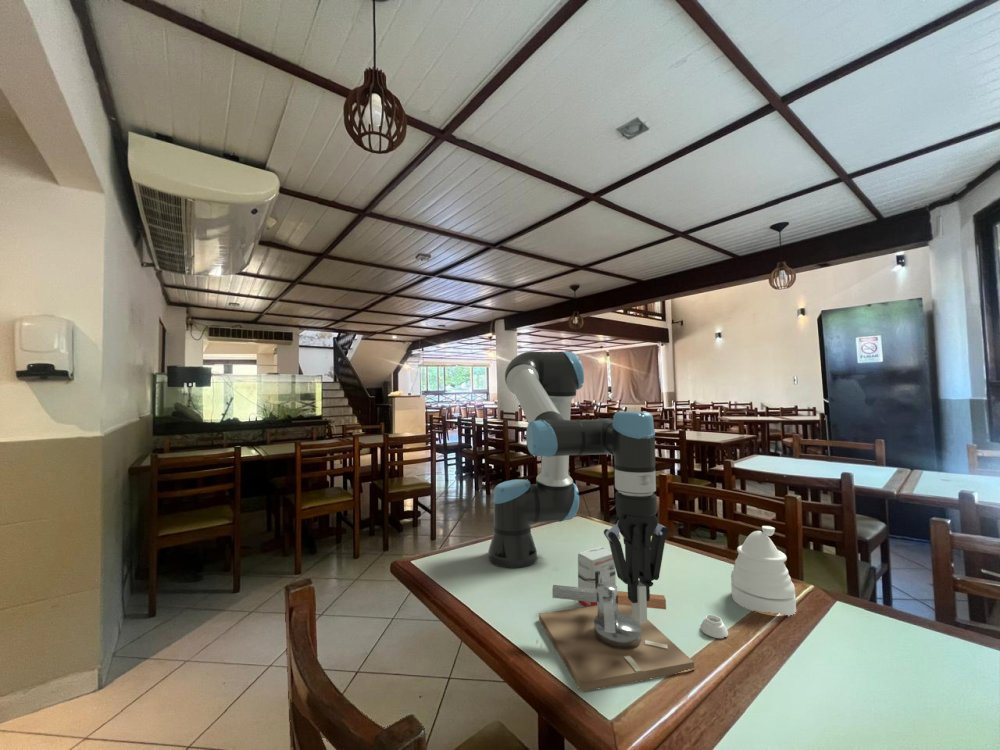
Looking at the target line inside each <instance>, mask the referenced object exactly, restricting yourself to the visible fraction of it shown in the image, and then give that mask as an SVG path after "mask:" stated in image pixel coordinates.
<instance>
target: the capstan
mask: <svg viewBox="0 0 1000 750" xmlns="http://www.w3.org/2000/svg"><path fill="white" fill-rule="evenodd" d="M601 581H602V582H600V583H598V584H597V589H592V588H581V587H578V586H572V585H571V586H569V585H568V586H567V585H559V584H553V585H552V590H551V591H552V598H553V599H560V600H570V601H578V600H579V601H588V602H597V611H598V615H597V616H596V617H595V619H594V631H595V635H596V637H597V638H598V639H599V640H600V641H601V642H603V643H605V644H607V645H609V646H612V647H616V648H632V647H635V646H637V645H638V644H639V643H640V642H641V626H640V624H639V622H638V621H637V620H636V619H634V618H633V617H631V616H629V615H626V614H623V613H619V612H618V605H627V606H632V602H631V601H630V600H629V599H628V591H623V590H622V591H621V590H618V586H617V584H616V585H615V584H613V583H611V582H610V573H609V570H608V569H601ZM647 608H650V609H657V610H658V609H659V610H667V601H666V597H665V595H663V594H653V593H650V599H649V601H647Z"/></svg>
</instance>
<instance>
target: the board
mask: <svg viewBox="0 0 1000 750" xmlns="http://www.w3.org/2000/svg"><path fill="white" fill-rule="evenodd" d="M618 612H619V613H623V614H626V615H629V616H631V617H633V616H632V606H627V605H618ZM597 615H598V611H597V606H590V607H585V606H583V607H578V608H569V609H563V610H562V609H561V610H556V611H554V610H553V611H547V612H540V613H538V620H539V621H538V622H539V623H540V625H541V626H542V628H543V629H544V631H545V633H546V635H547V637H548V638H549V639H550V641H551V644H552V645H553V647H554V649H555V650H556V652H557V653H558V655H559V657H560V659H561V661H562V662H563V664H564V665H565V667H566V668H567V671H568V672H569V675H571V678H572V679H573V681H574V683H575V685H576V686H577V688H578V687H579V688H578V689H580V690H579V691H580V693H583V692H582V691H584V692H588V691H587V690H590V691H594V690H593V689H595V690H599V689H598V688H600V689H604V688H603V687H606V688H611V687H615V686H621V685H627V684H630V683H636V681H637V682H641V680H643V681H646V680H647V679H648V680H651V679H650V678H653V679H656V678H657V677H659V678H662V676H663V677H667V675H669V676H672V675H671V674H675V673H678V672H681V671H684V670H688V669H692V668H694V669H695V662H694V660H692V659H691V658H690V657H689V656H688V655H687V653H685V652H684V651H683V650H681V648H680V647H679V646H677V645H676V644H675V643H674V642H673V641H672V640H671V639H670V638H669V637H667V636H666V635H665V634H664V633H663V632H662V631H661V630H659V628H658V627H656V626H655V624H653V623H652V622H651V621H650V620H649V619H648V618H647V622H645V623H639V624H640V626H641V642H640V643H639V644H638V645H637V646H635V647H632V648H616V647H612V646H609V645H607V644H605V643H603V642H601V641H600V640H599V639H598V638H597V637H596V635H595V631H594V619H595V617H596V616H597ZM633 618H634V617H633ZM634 619H635V618H634ZM675 675H676V674H675ZM657 679H658V678H657ZM610 686H611V687H610Z"/></svg>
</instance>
